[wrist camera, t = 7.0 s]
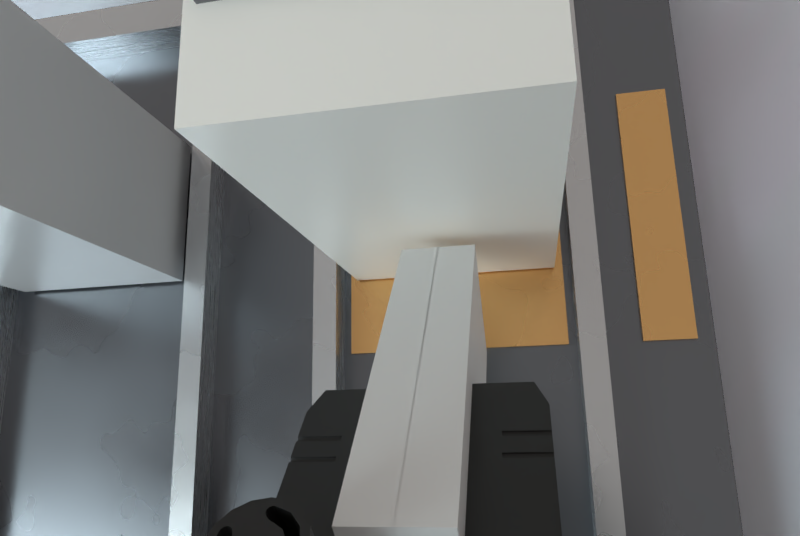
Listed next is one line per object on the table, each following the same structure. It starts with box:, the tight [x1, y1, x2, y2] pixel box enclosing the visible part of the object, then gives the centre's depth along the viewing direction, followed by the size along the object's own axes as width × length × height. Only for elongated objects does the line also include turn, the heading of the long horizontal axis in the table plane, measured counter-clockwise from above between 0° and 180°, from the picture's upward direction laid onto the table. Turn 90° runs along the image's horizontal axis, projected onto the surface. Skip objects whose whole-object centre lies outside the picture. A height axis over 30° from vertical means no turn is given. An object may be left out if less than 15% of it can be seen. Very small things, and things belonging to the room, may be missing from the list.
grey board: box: [0, 0, 743, 536], centre depth 17 cm, size 25×21×2 cm
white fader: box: [174, 0, 577, 280], centre depth 12 cm, size 4×5×9 cm
